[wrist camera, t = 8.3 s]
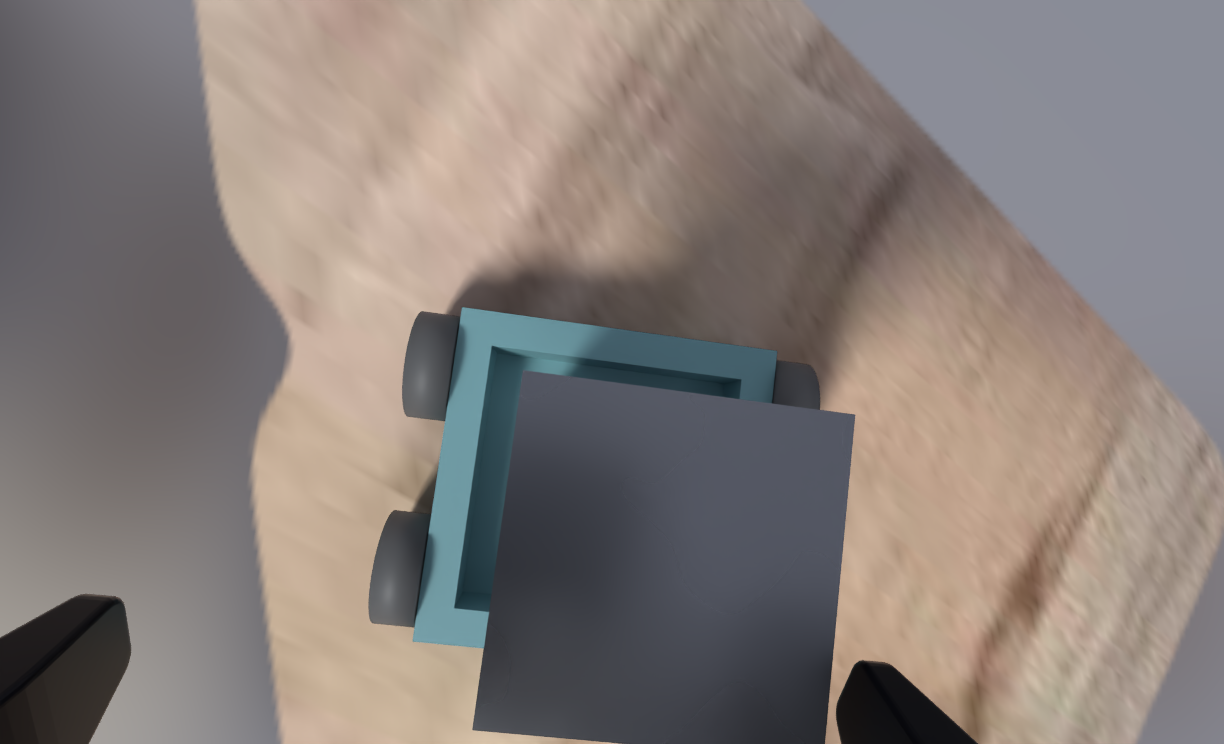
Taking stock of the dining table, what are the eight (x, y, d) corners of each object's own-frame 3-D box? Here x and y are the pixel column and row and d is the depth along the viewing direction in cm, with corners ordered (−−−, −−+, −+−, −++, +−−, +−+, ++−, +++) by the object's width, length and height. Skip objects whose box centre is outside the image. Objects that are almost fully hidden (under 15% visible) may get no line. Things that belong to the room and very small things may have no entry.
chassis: (758, 648, 22) (793, 685, 19) (388, 611, 21) (361, 643, 18) (786, 364, 23) (825, 354, 20) (433, 316, 22) (414, 297, 19)
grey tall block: (658, 563, 22) (822, 761, 9) (518, 547, 21) (471, 730, 8) (675, 423, 22) (855, 414, 9) (537, 405, 22) (522, 369, 9)
